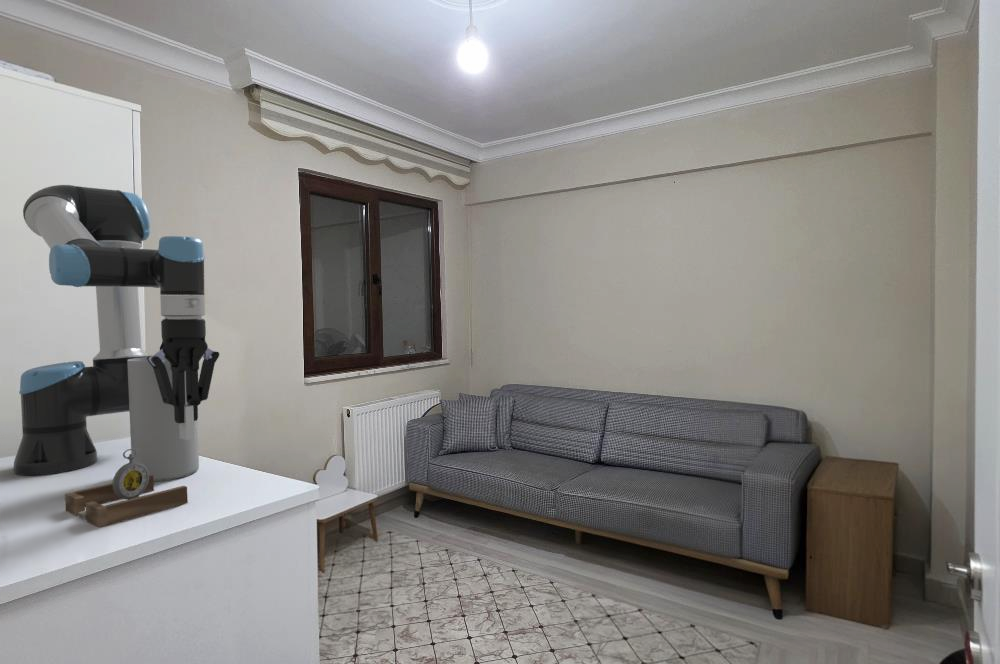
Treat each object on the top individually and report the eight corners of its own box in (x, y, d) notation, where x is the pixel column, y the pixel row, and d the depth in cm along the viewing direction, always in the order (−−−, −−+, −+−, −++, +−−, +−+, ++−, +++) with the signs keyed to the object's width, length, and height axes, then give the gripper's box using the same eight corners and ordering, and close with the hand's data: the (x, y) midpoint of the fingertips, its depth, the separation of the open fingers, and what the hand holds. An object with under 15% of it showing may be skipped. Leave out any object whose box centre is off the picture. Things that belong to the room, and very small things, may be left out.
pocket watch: (160, 509, 104) (158, 453, 103) (106, 514, 102) (104, 457, 101) (174, 495, 112) (172, 443, 111) (125, 499, 110) (123, 446, 109)
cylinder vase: (118, 479, 123) (113, 360, 122) (171, 463, 134) (167, 355, 133) (160, 485, 118) (155, 361, 117) (212, 468, 130) (208, 356, 128)
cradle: (65, 510, 104) (64, 493, 104) (150, 489, 115) (150, 474, 115) (99, 527, 95) (98, 509, 95) (187, 502, 107) (187, 486, 107)
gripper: (156, 319, 105) (160, 448, 107) (226, 317, 116) (229, 434, 117) (137, 318, 110) (142, 442, 111) (206, 316, 120) (209, 429, 122)
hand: (186, 438), depth 114 cm, fingers closed
